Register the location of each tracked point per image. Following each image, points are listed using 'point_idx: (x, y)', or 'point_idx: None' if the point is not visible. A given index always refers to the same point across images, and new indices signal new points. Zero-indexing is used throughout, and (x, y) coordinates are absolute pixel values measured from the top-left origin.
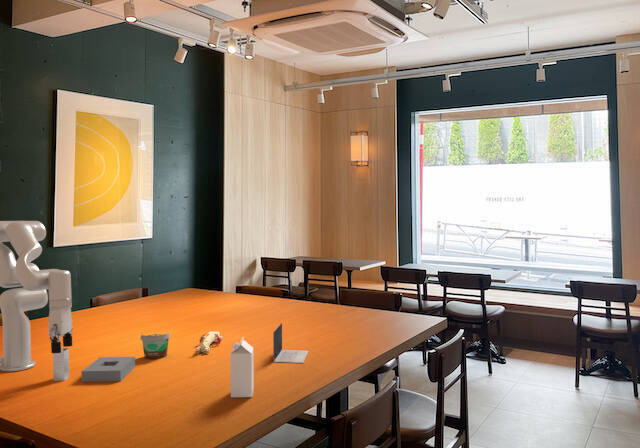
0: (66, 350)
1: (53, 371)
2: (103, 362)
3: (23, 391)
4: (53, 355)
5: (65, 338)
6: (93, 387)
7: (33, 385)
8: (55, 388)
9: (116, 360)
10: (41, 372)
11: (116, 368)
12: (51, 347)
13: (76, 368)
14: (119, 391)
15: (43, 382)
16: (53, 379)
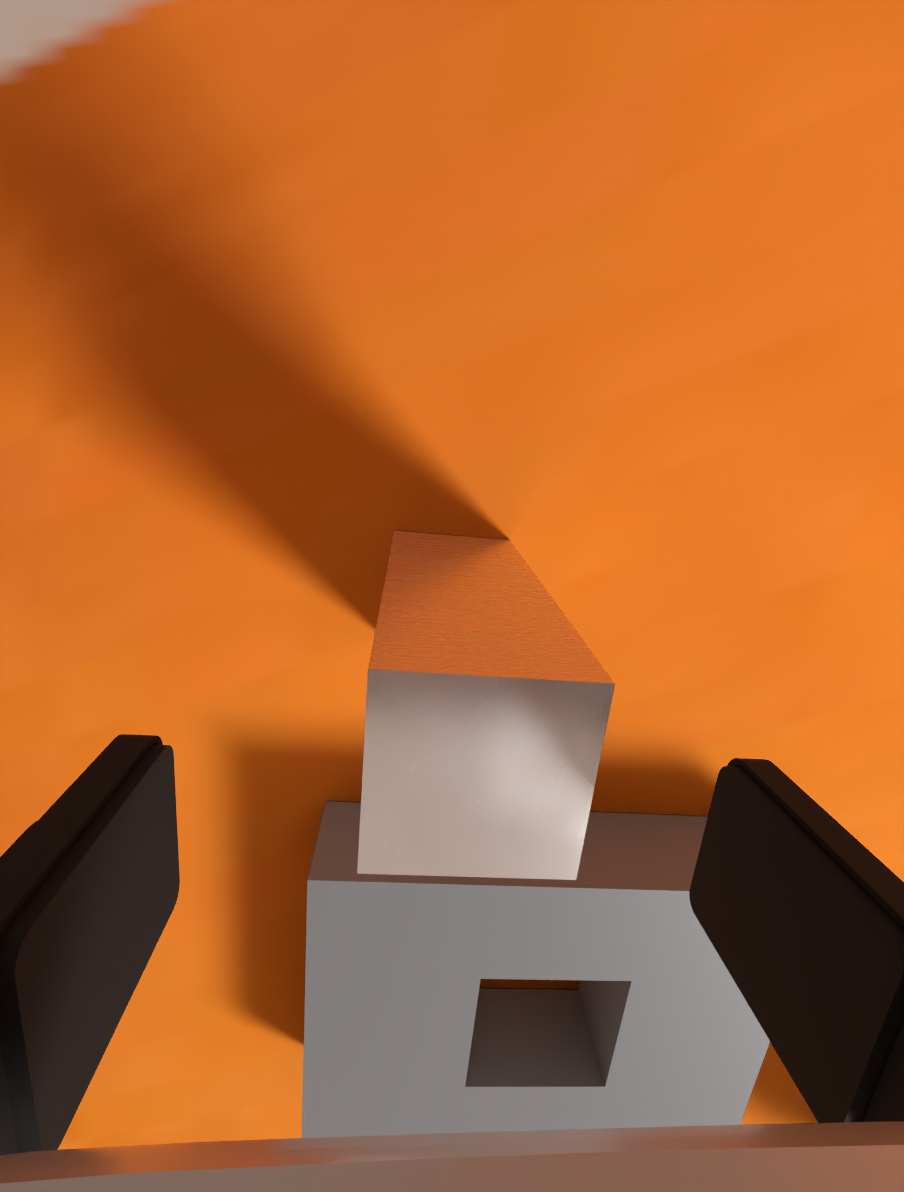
0: (468, 865)
1: (390, 556)
2: (602, 978)
3: (42, 319)
4: (374, 641)
5: (835, 962)
6: (176, 922)
7: (254, 358)
8: (149, 632)
9: (643, 1059)
10: (757, 263)
11: (370, 1119)
12: (44, 820)
13: (790, 624)
14: (84, 1096)
15: (354, 437)
16: (394, 533)
